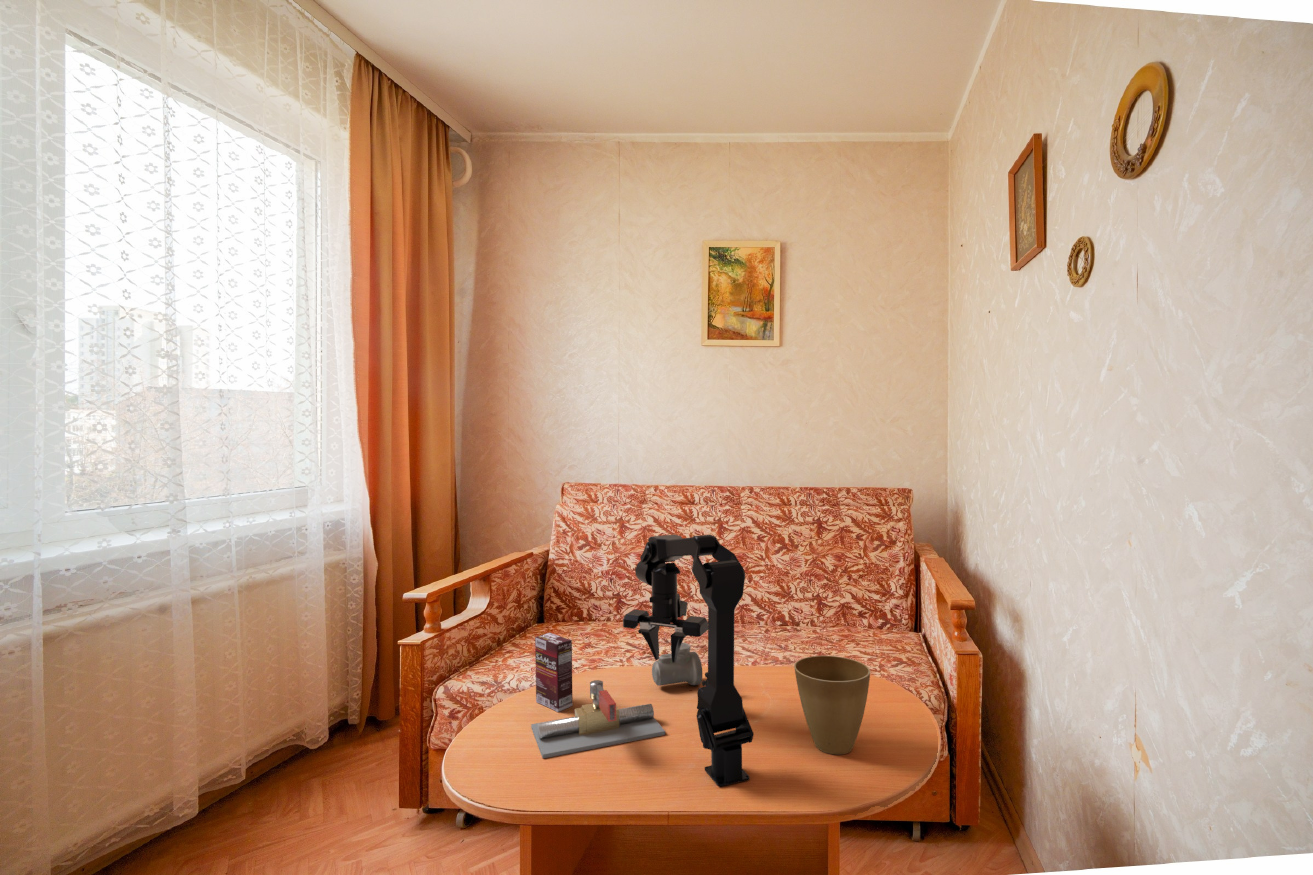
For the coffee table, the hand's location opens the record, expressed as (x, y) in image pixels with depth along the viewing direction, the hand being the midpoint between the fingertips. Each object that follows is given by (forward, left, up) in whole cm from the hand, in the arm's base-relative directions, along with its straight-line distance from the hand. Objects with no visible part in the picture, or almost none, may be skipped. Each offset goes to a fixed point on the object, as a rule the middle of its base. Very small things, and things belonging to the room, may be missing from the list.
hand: (665, 660), depth 140 cm
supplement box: (+17, +22, -13) cm, 31 cm away
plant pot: (-24, -27, -13) cm, 38 cm away
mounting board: (0, +16, -13) cm, 21 cm away
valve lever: (-5, +16, -6) cm, 18 cm away
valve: (+2, -14, -13) cm, 19 cm away
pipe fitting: (+16, -9, -13) cm, 23 cm away
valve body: (0, +16, -13) cm, 21 cm away
